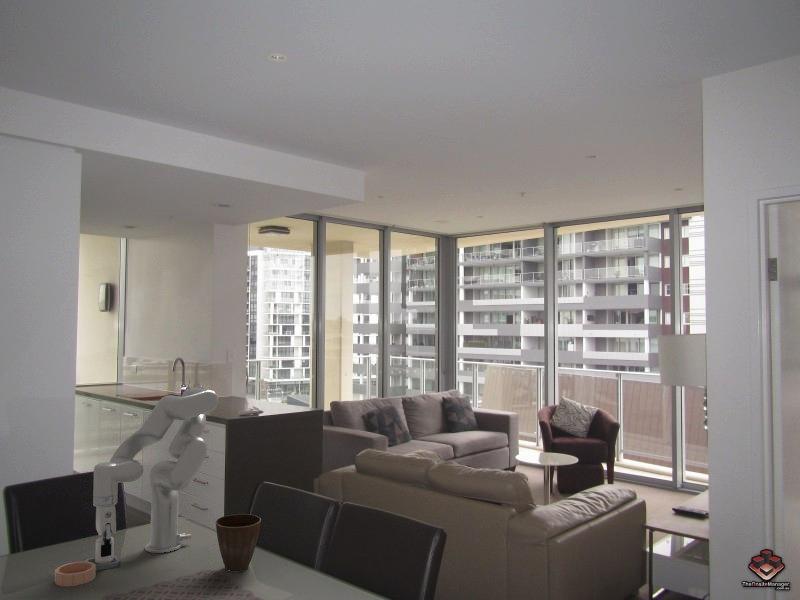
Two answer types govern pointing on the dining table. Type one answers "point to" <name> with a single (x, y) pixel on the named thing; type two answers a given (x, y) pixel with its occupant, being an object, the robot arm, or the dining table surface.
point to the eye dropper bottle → (98, 551)
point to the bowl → (75, 573)
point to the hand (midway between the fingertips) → (104, 553)
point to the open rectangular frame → (106, 565)
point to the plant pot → (237, 539)
